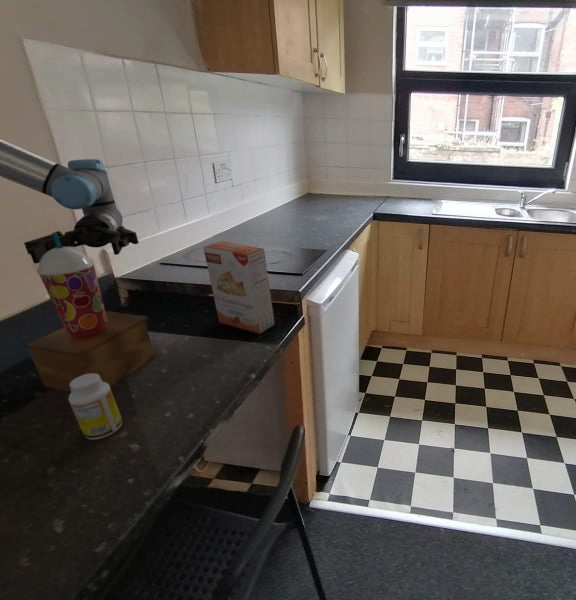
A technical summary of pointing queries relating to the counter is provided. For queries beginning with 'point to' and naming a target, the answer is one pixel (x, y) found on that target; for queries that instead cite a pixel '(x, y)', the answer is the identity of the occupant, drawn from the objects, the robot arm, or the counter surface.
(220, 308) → the cracker box
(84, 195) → the robot arm
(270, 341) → the counter surface
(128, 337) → the chest
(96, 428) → the supplement bottle
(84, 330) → the smoothie
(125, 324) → the lid
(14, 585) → the counter surface
